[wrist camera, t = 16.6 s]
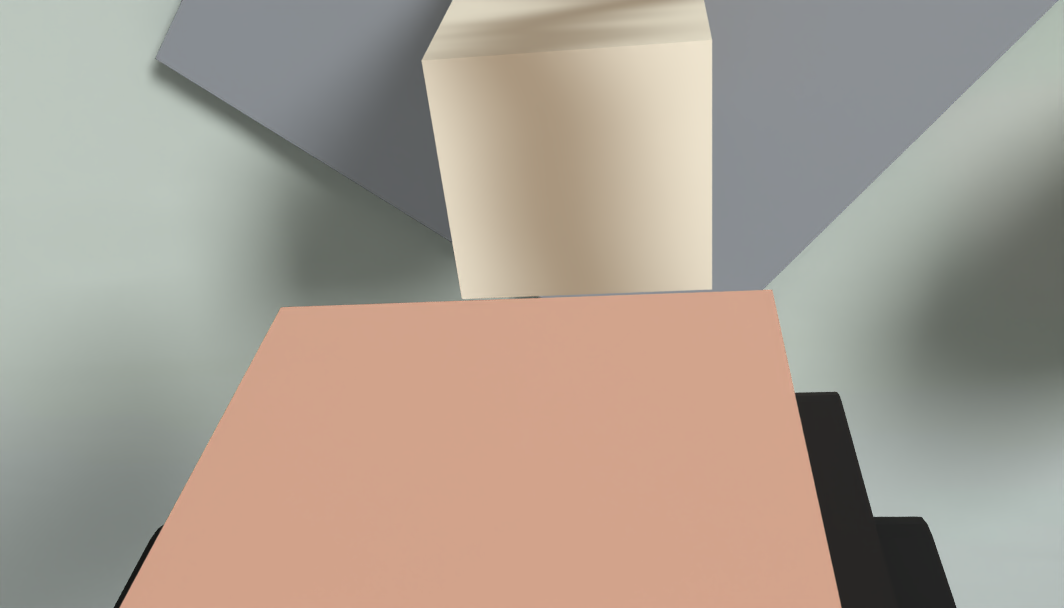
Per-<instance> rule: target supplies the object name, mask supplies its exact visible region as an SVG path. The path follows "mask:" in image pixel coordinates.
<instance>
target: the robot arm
mask: <svg viewBox="0 0 1064 608" xmlns="http://www.w3.org/2000/svg"><path fill="white" fill-rule="evenodd" d="M795 397H796V401H797V406H798V411H799V415H800V420H801V424H802V429H803V434H804V438H805V443H806V447H807V452H808V456H809V461H810V466H811V470H812V475H813V479H814V484H815V488H816V493H817V498H818V502H819V507H820V511H821V516H822V521H823V525H824V530H825V534H826V539H827V543H828V548H829V553H830V557H831V562H832V566H833V571H834V575H835V580H836V585H837V589H838V594H839V598H840V603H841V608H956V605H955V602H954V599H953V596H952V593H951V590H950V587H949V584H948V581H947V578H946V575H945V572H944V569H943V566H942V563H941V560H940V557H939V554H938V551H937V548H936V545H935V542H934V539H933V536H932V534H931V532H930V529H929V527H928V525H927V523H926V522H925V521H924V519H923V518H922V517H873V514H872V511H871V507H870V503H869V500H868V496H867V492H866V489H865V485H864V481H863V478H862V474H861V470H860V467H859V463H858V460H857V456H856V452H855V449H854V445H853V441H852V438H851V434H850V430H849V427H848V423H847V419H846V416H845V412H844V409H843V405H842V401H841V398H840V396H839V394H838V393H837V392H810V393H795ZM163 526H164V525H163ZM163 526H161V527H160V528H158V529H157V531H156V532H155V534H154V535H153V537H152V538H151V539H150V541H149V543H148V545H147V547H146V548H145V550H144V552H143V554H142V556H141V558H140V560H139V562H138V563H137V565H136V567H135V569H134V571H133V573H132V575H131V576H130V578H129V580H128V582H127V584H126V586H125V588H124V590H123V591H122V593H121V595H120V597H119V599H118V601H117V603H116V604H115V606H114V608H120V606H121V604H122V602H123V600H124V599H125V597H126V595H127V593H128V591H129V589H130V587H131V585H132V584H133V582H134V580H135V578H136V576H137V574H138V572H139V571H140V569H141V567H142V565H143V563H144V561H145V559H146V558H147V556H148V554H149V552H150V550H151V548H152V546H153V545H154V543H155V541H156V539H157V537H158V535H159V533H160V531H161V530H162V528H163Z"/></svg>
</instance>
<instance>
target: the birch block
mask: <svg viewBox="0 0 1064 608" xmlns="http://www.w3.org/2000/svg"><path fill="white" fill-rule="evenodd" d="M422 66H423V72H424V78H425V84H426V90H427V96H428V102H429V108H430V114H431V119H432V125H433V131H434V137H435V143H436V149H437V155H438V161H439V167H440V172H441V178H442V184H443V190H444V196H445V202H446V208H447V214H448V220H449V226H450V231H451V237H452V243H453V249H454V255H455V261H456V267H457V273H458V279H459V285H460V290H461V296H462V299H477V298H503V297H529V296H555V295H581V294H607V293H633V292H659V291H685V290H711V289H712V37H711V32H710V27H709V22H708V17H707V12H706V7H705V3H704V0H452V2H451V4H450V6H449V8H448V10H447V12H446V14H445V16H444V18H443V20H442V22H441V24H440V26H439V28H438V30H437V31H436V33H435V35H434V37H433V39H432V41H431V43H430V45H429V47H428V49H427V51H426V53H425V55H424V57H423V59H422Z"/></svg>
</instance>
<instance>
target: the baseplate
mask: <svg viewBox="0 0 1064 608" xmlns="http://www.w3.org/2000/svg"><path fill="white" fill-rule="evenodd" d="M1057 1H1058V0H704V3H705V7H706V12H707V17H708V22H709V27H710V32H711V37H712V289H711V290H685V291H659V292H633V293H607V294H581V295H555V296H539V297H541V298H555V297H583V296H611V295H639V294H667V293H695V292H723V291H751V290H763V289H764V288H765V287H766V286H767V285H768V284H769V283H770V282H771V281H772V280H773V279H774V278H775V277H776V276H777V275H778V274H779V273H780V272H781V271H782V270H783V269H784V268H785V267H786V266H787V265H788V264H789V263H790V262H791V261H792V260H794V259H795V258H796V257H797V256H798V255H799V254H800V253H801V252H802V251H803V250H804V249H805V248H806V247H807V246H808V245H809V244H810V243H811V242H812V241H813V240H814V239H815V238H816V237H817V236H818V235H819V234H820V233H821V232H822V231H823V230H824V229H825V228H826V227H827V226H828V225H829V224H830V223H831V222H832V221H833V220H834V219H835V218H836V217H837V216H838V215H840V214H841V213H842V212H843V211H844V210H845V209H846V208H847V207H848V206H849V205H850V204H851V203H852V202H853V201H854V200H855V199H856V198H857V197H858V196H859V195H860V194H861V193H862V192H863V191H864V190H865V189H866V188H867V187H868V186H869V185H870V184H871V183H872V182H873V181H874V180H875V179H876V178H877V177H878V176H879V175H880V174H881V173H882V172H883V171H884V170H885V169H887V168H888V167H889V166H890V165H891V164H892V163H893V162H894V161H895V160H896V159H897V158H898V157H899V156H900V155H901V154H902V153H903V152H904V151H905V150H906V149H907V148H908V147H909V146H910V145H911V144H912V143H913V142H914V141H915V140H916V139H917V138H918V137H919V136H920V135H921V134H922V133H923V132H924V131H925V130H926V129H927V128H928V127H929V126H930V125H931V124H933V123H934V122H935V121H936V120H937V119H938V118H939V117H940V116H941V115H942V114H943V113H944V112H945V111H946V110H947V109H948V108H949V107H950V106H951V105H952V104H953V103H954V102H955V101H956V100H957V99H958V98H959V97H960V96H961V95H962V94H963V93H964V92H965V91H966V90H967V89H968V88H969V87H970V86H971V85H972V84H973V83H974V82H975V81H976V80H977V79H979V78H980V77H981V76H982V75H983V74H984V73H985V72H986V71H987V70H988V69H989V68H990V67H991V66H992V65H993V64H994V63H995V62H996V61H997V60H998V59H999V58H1000V57H1001V56H1002V55H1003V54H1004V53H1005V52H1006V51H1007V50H1008V49H1009V48H1010V47H1011V46H1012V45H1013V44H1014V43H1015V42H1016V41H1017V40H1018V39H1019V38H1020V37H1021V36H1022V35H1023V34H1024V33H1026V32H1027V31H1028V30H1029V29H1030V28H1031V27H1032V26H1033V25H1034V24H1035V23H1036V22H1037V21H1038V20H1039V19H1040V18H1041V17H1042V16H1043V15H1044V14H1045V13H1046V12H1047V11H1048V10H1049V9H1050V8H1051V7H1052V6H1053V5H1054V4H1055V3H1056V2H1057ZM451 2H452V0H182V2H181V4H180V6H179V8H178V11H177V13H176V15H175V17H174V19H173V21H172V23H171V26H170V28H169V30H168V32H167V34H166V36H165V38H164V41H163V43H162V45H161V47H160V49H159V51H158V53H157V56H156V58H155V59H157V60H158V61H160V62H161V63H163V64H165V65H166V66H168V67H169V68H171V69H173V70H174V71H176V72H178V73H179V74H181V75H182V76H184V77H186V78H187V79H189V80H190V81H192V82H194V83H195V84H197V85H199V86H200V87H202V88H203V89H205V90H207V91H208V92H210V93H211V94H213V95H215V96H216V97H218V98H219V99H221V100H223V101H224V102H226V103H228V104H229V105H231V106H232V107H234V108H236V109H237V110H239V111H240V112H242V113H244V114H245V115H247V116H249V117H250V118H252V119H253V120H255V121H257V122H258V123H260V124H261V125H263V126H265V127H266V128H268V129H270V130H271V131H273V132H274V133H276V134H278V135H279V136H281V137H282V138H284V139H286V140H287V141H289V142H290V143H292V144H294V145H295V146H297V147H299V148H300V149H302V150H303V151H305V152H307V153H308V154H310V155H311V156H313V157H315V158H316V159H318V160H320V161H321V162H323V163H324V164H326V165H328V166H329V167H331V168H332V169H334V170H336V171H337V172H339V173H341V174H342V175H344V176H345V177H347V178H349V179H350V180H352V181H353V182H355V183H357V184H358V185H360V186H361V187H363V188H365V189H366V190H368V191H370V192H371V193H373V194H374V195H376V196H378V197H379V198H381V199H382V200H384V201H386V202H387V203H389V204H391V205H392V206H394V207H395V208H397V209H399V210H400V211H402V212H403V213H405V214H407V215H408V216H410V217H412V218H413V219H415V220H416V221H418V222H420V223H421V224H423V225H424V226H426V227H428V228H429V229H431V230H432V231H434V232H436V233H437V234H439V235H441V236H442V237H444V238H445V239H447V240H449V241H450V242H452V237H451V231H450V226H449V220H448V214H447V208H446V202H445V196H444V190H443V184H442V178H441V172H440V167H439V161H438V155H437V149H436V143H435V137H434V131H433V125H432V119H431V114H430V108H429V102H428V96H427V90H426V84H425V78H424V72H423V66H422V59H423V57H424V55H425V53H426V51H427V49H428V47H429V45H430V43H431V41H432V39H433V37H434V35H435V33H436V31H437V30H438V28H439V26H440V24H441V22H442V20H443V18H444V16H445V14H446V12H447V10H448V8H449V6H450V4H451Z"/></svg>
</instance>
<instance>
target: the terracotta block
mask: <svg viewBox="0 0 1064 608" xmlns="http://www.w3.org/2000/svg"><path fill="white" fill-rule="evenodd" d="M120 608H841V603H840V598H839V594H838V589H837V585H836V580H835V575H834V571H833V566H832V562H831V557H830V553H829V548H828V543H827V539H826V534H825V530H824V525H823V521H822V516H821V511H820V507H819V502H818V498H817V493H816V488H815V484H814V479H813V475H812V470H811V466H810V461H809V456H808V452H807V447H806V443H805V438H804V434H803V429H802V424H801V420H800V415H799V411H798V406H797V401H796V397H795V392H794V388H793V383H792V379H791V374H790V369H789V365H788V360H787V356H786V351H785V347H784V342H783V337H782V333H781V328H780V324H779V319H778V315H777V310H776V305H775V301H774V296H773V292H772V290H751V291H723V292H695V293H667V294H639V295H611V296H583V297H555V298H527V299H499V300H471V301H444V302H416V303H388V304H360V305H332V306H304V307H281V308H280V310H279V312H278V314H277V316H276V317H275V319H274V321H273V323H272V325H271V327H270V329H269V330H268V332H267V334H266V336H265V338H264V340H263V342H262V343H261V345H260V347H259V349H258V351H257V353H256V355H255V356H254V358H253V360H252V362H251V364H250V366H249V368H248V370H247V371H246V373H245V375H244V377H243V379H242V381H241V383H240V384H239V386H238V388H237V390H236V392H235V394H234V396H233V397H232V399H231V401H230V403H229V405H228V407H227V409H226V410H225V412H224V414H223V416H222V418H221V420H220V422H219V424H218V425H217V427H216V429H215V431H214V433H213V435H212V437H211V438H210V440H209V442H208V444H207V446H206V448H205V450H204V451H203V453H202V455H201V457H200V459H199V461H198V463H197V464H196V466H195V468H194V470H193V472H192V474H191V476H190V478H189V479H188V481H187V483H186V485H185V487H184V489H183V491H182V492H181V494H180V496H179V498H178V500H177V502H176V504H175V505H174V507H173V509H172V511H171V513H170V515H169V517H168V518H167V520H166V522H165V524H164V526H163V528H162V530H161V531H160V533H159V535H158V537H157V539H156V541H155V543H154V545H153V546H152V548H151V550H150V552H149V554H148V556H147V558H146V559H145V561H144V563H143V565H142V567H141V569H140V571H139V572H138V574H137V576H136V578H135V580H134V582H133V584H132V585H131V587H130V589H129V591H128V593H127V595H126V597H125V599H124V600H123V602H122V604H121V606H120Z"/></svg>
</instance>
